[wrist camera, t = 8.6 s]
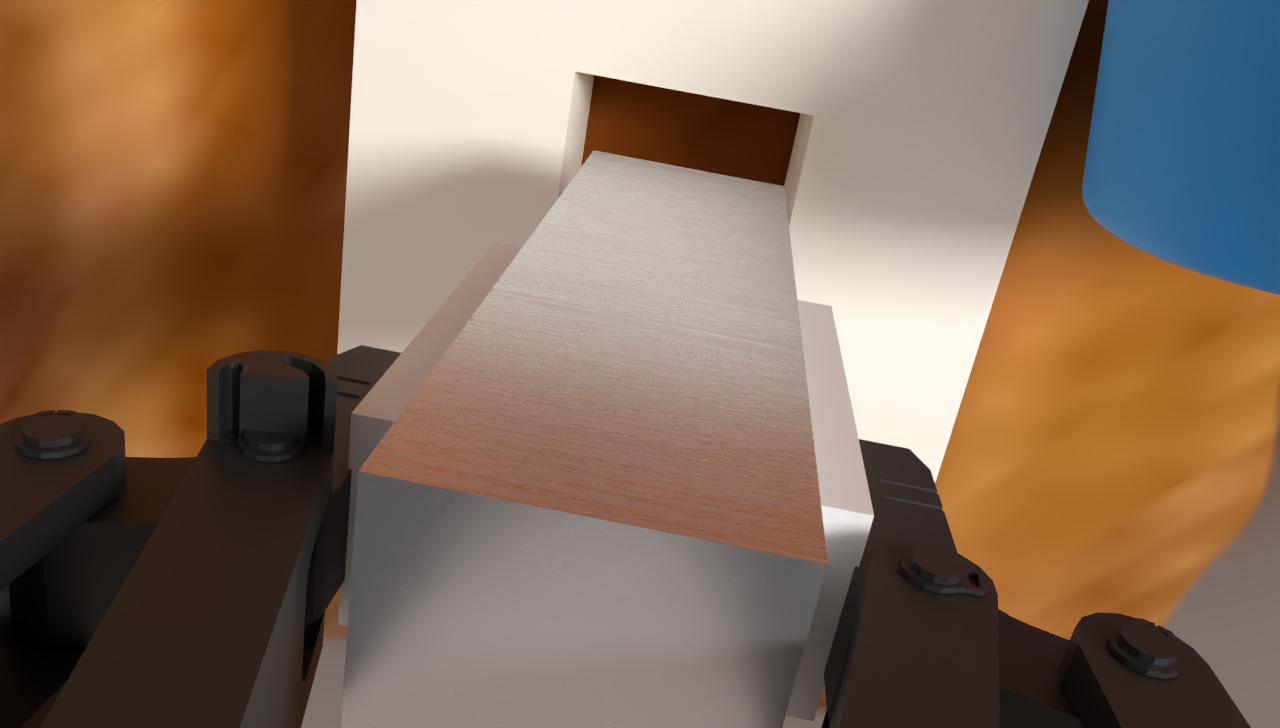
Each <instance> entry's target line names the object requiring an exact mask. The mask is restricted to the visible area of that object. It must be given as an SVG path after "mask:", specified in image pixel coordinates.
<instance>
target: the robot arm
mask: <svg viewBox="0 0 1280 728" xmlns="http://www.w3.org/2000/svg"><path fill="white" fill-rule="evenodd" d="M521 249H522V247H519V246H514V245H508V244H503V243H498V242H494V243H493V244H492V246H491V247H490V248H489V249H488V250H487V252H486V253H485V254H484V255H483V256H482V258H481V259H480V260H479V261H478V262H477V264H476V265H475V266H474V267H473V268H472V269H471V271H470V272H469V273H468V274H467V275H466V277H465V278H464V279H463V280H462V281H461V283H460V284H459V285H458V286H457V287H456V289H455V290H454V291H453V292H452V293H451V295H450V296H449V297H448V298H447V299H446V301H445V302H444V303H443V304H442V305H441V307H440V308H439V309H438V310H437V311H436V313H435V314H434V315H433V316H432V317H431V319H430V320H429V321H428V322H427V323H426V324H425V326H424V327H423V328H422V329H421V330H420V332H419V333H418V334H417V335H416V336H415V338H414V339H413V340H412V341H411V342H410V344H409V345H408V346H407V347H406V348H405V350H404V351H403V352H402V353H400V352H394V351H389V350H384V349H379V348H374V347H369V346H364V345H360V346H358V347H355V348H353V349H350V350H347V351H345V352H342V353H340V354H337V355H335V356H333V357H332V358H331V359H330V360H329V361H328V362H327V363H325V362H323V361H321V360H318V359H316V358H313V357H311V356H308V355H303V354H298V353H293V352H288V351H263V350H261V351H253V352H245V353H238V354H235V355H232V356H229V357H226V358H223V359H220V360H218V361H217V362H216V363H214V364H213V365H212V366H211V367H209V368H208V369H207V440H206V442H205V443H204V445H203V447H202V449H201V450H200V452H199V454H198V455H197V457H191V458H141V457H125V438H124V431H123V430H122V429H121V428H120V427H119V426H118V425H117V424H115V423H114V422H113V421H111V420H108V419H105V418H102V417H100V416H97V415H94V414H86V413H77V412H74V411H70V410H58V412H54V410H53V411H42V412H38V413H36V414H33V415H29V416H24V417H19V418H15V419H12V420H10V421H8V422H5V423H3V424H1V425H0V728H301V725H302V721H303V717H304V714H305V710H306V706H307V702H308V699H309V695H310V691H311V687H312V683H313V680H314V676H315V672H316V668H317V665H318V661H319V658H320V654H321V650H322V646H323V632H324V614H325V610H326V608H327V607H328V605H329V604H330V602H331V600H332V599H333V597H334V596H335V594H336V592H337V591H338V589H339V588H340V600H339V616H338V625H342V626H347V627H348V614H349V599H350V584H351V570H352V555H353V540H354V526H355V511H356V496H357V481H358V471H359V469H360V468H361V467H362V465H363V464H364V463H365V461H366V460H367V459H368V457H369V456H370V454H371V453H372V452H373V450H374V449H375V448H376V446H377V445H378V444H379V442H380V441H381V439H382V438H383V437H384V435H385V434H386V433H387V431H388V430H389V429H390V427H391V426H392V424H393V423H394V422H395V420H396V419H397V418H398V416H399V415H400V414H401V412H402V411H403V409H404V408H405V407H406V405H407V404H408V403H409V401H410V400H411V399H412V397H413V396H414V394H415V393H416V392H417V390H418V389H419V388H420V386H421V385H422V384H423V382H424V381H425V379H426V378H427V377H428V375H429V374H430V373H431V371H432V370H433V369H434V367H435V366H436V364H437V363H438V362H439V360H440V359H441V358H442V356H443V355H444V354H445V352H446V351H447V349H448V348H449V347H450V345H451V344H452V343H453V341H454V340H455V339H456V337H457V336H458V334H459V333H460V332H461V330H462V329H463V328H464V326H465V325H466V324H467V322H468V321H469V319H470V318H471V317H472V315H473V314H474V313H475V311H476V310H477V309H478V307H479V306H480V304H481V303H482V302H483V300H484V299H485V298H486V296H487V295H488V294H489V292H490V291H491V289H492V288H493V287H494V285H495V284H496V283H497V281H498V280H499V279H500V277H501V276H502V275H503V273H504V272H505V270H506V269H507V268H508V266H509V265H510V264H511V262H512V261H513V260H514V258H515V257H516V255H517V254H518V253H519V251H520V250H521ZM798 309H799V318H800V326H801V335H802V344H803V352H804V361H805V370H806V378H807V387H808V396H809V405H810V413H811V422H812V431H813V439H814V448H815V457H816V465H817V474H818V483H819V491H820V500H821V509H822V517H823V526H824V535H825V543H826V552H827V561H828V566H827V569H826V573H825V576H824V580H823V584H822V587H821V591H820V594H819V598H818V601H817V605H816V608H815V612H814V616H813V619H812V623H811V626H810V630H809V633H808V637H807V640H806V644H805V648H804V651H803V655H802V658H801V662H800V665H799V669H798V672H797V676H796V679H795V683H794V687H793V690H792V694H791V697H790V701H789V704H788V708H787V711H786V716H791V717H796V718H802V719H806V720H811V721H813V720H814V718H815V714H816V711H817V708H818V704H819V701H820V697H821V694H822V691H823V687H824V684H825V693H826V704H827V711H826V714H825V717H824V721H823V724H822V727H821V728H1251V727H1250V726H1249V724H1248V723H1247V721H1246V720H1245V718H1244V717H1243V715H1242V714H1241V712H1240V711H1239V709H1238V708H1237V707H1236V705H1235V703H1234V702H1233V700H1232V699H1231V697H1230V696H1229V695H1228V693H1227V691H1226V690H1225V688H1224V687H1223V685H1222V684H1221V682H1220V681H1219V679H1218V678H1217V676H1216V675H1215V674H1214V672H1213V671H1212V669H1211V668H1210V666H1209V665H1208V664H1207V663H1206V662H1205V661H1204V660H1203V659H1202V657H1201V656H1200V655H1199V654H1198V653H1197V652H1196V651H1195V650H1194V649H1193V648H1192V647H1190V646H1189V645H1187V644H1186V643H1185V642H1183V641H1182V640H1180V639H1179V638H1178V637H1176V636H1175V635H1174V634H1173V633H1172V632H1170V631H1169V630H1167V629H1165V628H1163V627H1161V626H1159V625H1158V627H1157V626H1155V623H1152V622H1149V621H1147V620H1144V619H1141V618H1133V617H1130V616H1126V615H1122V614H1114V613H1095V614H1091V615H1088V616H1085V617H1082V618H1081V620H1080V621H1079V623H1078V624H1077V626H1076V627H1075V629H1074V632H1073V634H1072V637H1071V639H1070V640H1067V639H1064V638H1062V637H1059V636H1057V635H1054V634H1051V633H1049V632H1046V631H1044V630H1041V629H1039V628H1036V627H1033V626H1031V625H1028V624H1026V623H1024V622H1022V621H1020V620H1017V619H1015V618H1013V617H1011V616H1009V615H1007V614H1006V613H1004V612H1003V611H1001V610H999V609H998V595H997V592H996V589H995V586H994V583H993V581H992V580H991V579H990V578H989V577H988V575H987V574H986V573H985V572H984V571H983V570H982V569H981V568H980V567H979V566H977V565H976V564H974V563H973V562H971V561H970V560H968V559H966V558H965V557H963V556H962V555H960V554H958V553H957V550H956V547H955V544H954V541H953V538H952V535H951V532H950V529H949V526H948V522H947V519H946V516H945V513H944V511H942V504H941V501H940V498H939V495H938V494H936V493H937V489H936V486H935V483H934V479H933V476H932V473H931V470H930V469H929V468H928V467H927V466H926V465H925V464H924V463H923V462H922V461H921V460H920V459H919V458H918V457H917V456H916V455H915V454H914V453H913V452H912V451H911V450H910V449H908V448H903V447H898V446H892V445H887V444H882V443H877V442H872V441H867V440H862V439H858V434H857V429H856V424H855V419H854V414H853V409H852V404H851V399H850V395H849V390H848V385H847V380H846V375H845V370H844V365H843V360H842V355H841V350H840V345H839V341H838V336H837V331H836V326H835V321H834V316H833V311H832V306H828V305H823V304H818V303H812V302H807V301H802V300H798Z"/></svg>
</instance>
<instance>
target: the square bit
mask: <svg viewBox="0 0 1280 728" xmlns="http://www.w3.org/2000/svg"><path fill="white" fill-rule="evenodd" d="M827 566H828V561H827V552H826V543H825V535H824V526H823V517H822V509H821V500H820V491H819V483H818V474H817V465H816V457H815V448H814V439H813V431H812V422H811V413H810V405H809V396H808V387H807V378H806V370H805V361H804V352H803V344H802V335H801V326H800V318H799V309H798V300H797V292H796V283H795V274H794V266H793V257H792V248H791V240H790V231H789V222H788V214H787V205H786V196H785V188H784V186H780V185H775V184H770V183H764V182H759V181H754V180H748V179H743V178H738V177H732V176H727V175H722V174H716V173H711V172H706V171H701V170H695V169H690V168H685V167H679V166H674V165H669V164H663V163H658V162H653V161H647V160H642V159H637V158H631V157H626V156H621V155H615V154H610V153H605V152H599V151H594V150H593V152H592V153H591V155H590V156H589V157H588V159H587V160H586V161H585V163H584V164H583V165H582V167H581V168H580V170H579V171H578V172H577V174H576V175H575V176H574V178H573V179H572V180H571V182H570V183H569V185H568V186H567V187H566V189H565V190H564V191H563V193H562V194H561V195H560V197H559V198H558V200H557V201H556V202H555V204H554V205H553V206H552V208H551V209H550V210H549V212H548V213H547V215H546V216H545V217H544V219H543V220H542V221H541V223H540V224H539V225H538V227H537V228H536V230H535V231H534V232H533V234H532V235H531V236H530V238H529V239H528V240H527V242H526V243H525V245H524V246H523V247H522V249H521V250H520V251H519V253H518V254H517V255H516V257H515V258H514V260H513V261H512V262H511V264H510V265H509V266H508V268H507V269H506V270H505V272H504V273H503V275H502V276H501V277H500V279H499V280H498V281H497V283H496V284H495V285H494V287H493V288H492V289H491V291H490V292H489V294H488V295H487V296H486V298H485V299H484V300H483V302H482V303H481V304H480V306H479V307H478V309H477V310H476V311H475V313H474V314H473V315H472V317H471V318H470V319H469V321H468V322H467V324H466V325H465V326H464V328H463V329H462V330H461V332H460V333H459V334H458V336H457V337H456V339H455V340H454V341H453V343H452V344H451V345H450V347H449V348H448V349H447V351H446V352H445V354H444V355H443V356H442V358H441V359H440V360H439V362H438V363H437V364H436V366H435V367H434V369H433V370H432V371H431V373H430V374H429V375H428V377H427V378H426V379H425V381H424V382H423V384H422V385H421V386H420V388H419V389H418V390H417V392H416V393H415V394H414V396H413V397H412V399H411V400H410V401H409V403H408V404H407V405H406V407H405V408H404V409H403V411H402V412H401V414H400V415H399V416H398V418H397V419H396V420H395V422H394V423H393V424H392V426H391V427H390V429H389V430H388V431H387V433H386V434H385V435H384V437H383V438H382V439H381V441H380V442H379V444H378V445H377V446H376V448H375V449H374V450H373V452H372V453H371V454H370V456H369V457H368V459H367V460H366V461H365V463H364V464H363V465H362V467H361V468H360V469H359V471H358V481H357V496H356V511H355V526H354V540H353V555H352V570H351V584H350V599H349V614H348V629H347V643H346V659H345V673H344V688H343V702H342V717H341V728H782V726H783V722H784V719H785V715H786V711H787V708H788V704H789V701H790V697H791V694H792V690H793V687H794V683H795V679H796V676H797V672H798V669H799V665H800V662H801V658H802V655H803V651H804V648H805V644H806V640H807V637H808V633H809V630H810V626H811V623H812V619H813V616H814V612H815V608H816V605H817V601H818V598H819V594H820V591H821V587H822V584H823V580H824V576H825V573H826V569H827Z"/></svg>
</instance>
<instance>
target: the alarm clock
mask: <svg viewBox="0 0 1280 728" xmlns="http://www.w3.org/2000/svg"><path fill="white" fill-rule="evenodd" d="M1082 196H1083V202H1084V204H1085V206H1086V208H1087V209H1088V211H1089V213H1090V215H1091V216H1092V218H1093V219H1094V220H1095V221H1096V222H1097V223H1098V224H1099V225H1101V226H1102V227H1103V228H1105V229H1106V230H1108V231H1109V232H1110V233H1112V234H1113V235H1115V236H1116V237H1118V238H1119V239H1121V240H1123V241H1124V242H1126V243H1128V244H1130V245H1131V246H1133V247H1136V248H1138V249H1140V250H1142V251H1144V252H1146V253H1148V254H1150V255H1153V256H1155V257H1158V258H1160V259H1163V260H1165V261H1168V262H1170V263H1173V264H1176V265H1178V266H1181V267H1184V268H1187V269H1190V270H1193V271H1196V272H1199V273H1202V274H1205V275H1208V276H1212V277H1215V278H1218V279H1222V280H1225V281H1228V282H1232V283H1236V284H1239V285H1243V286H1247V287H1251V288H1254V289H1258V290H1262V291H1266V292H1270V293H1274V294H1279V295H1280V0H1109V1H1108V8H1107V15H1106V22H1105V29H1104V36H1103V43H1102V50H1101V57H1100V64H1099V71H1098V78H1097V85H1096V92H1095V99H1094V106H1093V113H1092V120H1091V127H1090V134H1089V141H1088V148H1087V155H1086V162H1085V169H1084V176H1083V183H1082Z"/></svg>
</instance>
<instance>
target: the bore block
mask: <svg viewBox="0 0 1280 728" xmlns="http://www.w3.org/2000/svg"><path fill="white" fill-rule="evenodd" d="M1088 2H1089V0H357V2H356V20H355V39H354V57H353V75H352V93H351V112H350V130H349V148H348V166H347V185H346V203H345V221H344V239H343V258H342V276H341V294H340V312H339V331H338V349H337V354H340V353H342V352H345V351H347V350H350V349H353V348H355V347H358V346H360V345H364V346H369V347H374V348H379V349H384V350H389V351H394V352H400V353H402V352H403V351H404V350H405V348H406V347H407V346H408V345H409V344H410V342H411V341H412V340H413V339H414V338H415V336H416V335H417V334H418V333H419V332H420V330H421V329H422V328H423V327H424V326H425V324H426V323H427V322H428V321H429V320H430V319H431V317H432V316H433V315H434V314H435V313H436V311H437V310H438V309H439V308H440V307H441V305H442V304H443V303H444V302H445V301H446V299H447V298H448V297H449V296H450V295H451V293H452V292H453V291H454V290H455V289H456V287H457V286H458V285H459V284H460V283H461V281H462V280H463V279H464V278H465V277H466V275H467V274H468V273H469V272H470V271H471V269H472V268H473V267H474V266H475V265H476V264H477V262H478V261H479V260H480V259H481V258H482V256H483V255H484V254H485V253H486V252H487V250H488V249H489V248H490V247H491V246H492V244H493V243H494V242H498V243H503V244H508V245H514V246H519V247H523V246H524V245H525V243H526V242H527V240H528V239H529V238H530V236H531V235H532V234H533V232H534V231H535V230H536V228H537V227H538V225H539V224H540V223H541V221H542V220H543V219H544V217H545V216H546V215H547V213H548V212H549V210H550V209H551V208H552V206H553V205H554V204H555V202H556V201H557V200H558V198H559V197H560V195H561V194H562V193H563V191H564V190H565V189H566V187H567V186H568V185H569V183H570V182H571V180H572V179H573V178H574V176H575V175H576V174H577V172H578V171H579V170H580V168H581V165H582V158H583V151H584V144H585V137H586V130H587V123H588V116H589V109H590V102H591V96H592V89H593V82H594V75H597V76H602V77H608V78H613V79H619V80H624V81H629V82H635V83H640V84H646V85H651V86H657V87H662V88H667V89H673V90H678V91H684V92H689V93H694V94H700V95H705V96H711V97H716V98H722V99H727V100H732V101H738V102H743V103H749V104H754V105H760V106H765V107H770V108H776V109H781V110H787V111H792V112H797V113H800V118H799V122H798V127H797V131H796V136H795V140H794V145H793V149H792V153H791V158H790V162H789V167H788V171H787V176H786V180H785V185H784V188H785V196H786V205H787V214H788V222H789V231H790V240H791V248H792V257H793V266H794V274H795V283H796V292H797V300H802V301H807V302H812V303H818V304H823V305H828V306H832V311H833V316H834V321H835V326H836V331H837V336H838V341H839V345H840V350H841V355H842V360H843V365H844V370H845V375H846V380H847V385H848V390H849V395H850V399H851V404H852V409H853V414H854V419H855V424H856V429H857V434H858V439H862V440H867V441H872V442H877V443H882V444H887V445H892V446H898V447H903V448H908V449H910V450H911V451H912V452H913V453H914V454H915V455H916V456H917V457H918V458H919V459H920V460H921V461H922V462H923V463H924V464H925V465H926V466H927V467H928V468H929V469H930V470H931V473H932V476H933V479H934V483H935V482H936V479H937V475H938V472H939V469H940V466H941V463H942V460H943V457H944V454H945V450H946V447H947V444H948V441H949V438H950V435H951V432H952V428H953V425H954V422H955V419H956V416H957V413H958V410H959V407H960V403H961V400H962V397H963V394H964V391H965V388H966V385H967V381H968V378H969V375H970V372H971V369H972V366H973V363H974V360H975V356H976V353H977V350H978V347H979V344H980V341H981V338H982V334H983V331H984V328H985V325H986V322H987V319H988V316H989V312H990V309H991V306H992V303H993V300H994V297H995V294H996V291H997V287H998V284H999V281H1000V278H1001V275H1002V272H1003V269H1004V265H1005V262H1006V259H1007V256H1008V253H1009V250H1010V247H1011V244H1012V240H1013V237H1014V234H1015V231H1016V228H1017V225H1018V222H1019V218H1020V215H1021V212H1022V209H1023V206H1024V203H1025V200H1026V196H1027V193H1028V190H1029V187H1030V184H1031V181H1032V178H1033V175H1034V171H1035V168H1036V165H1037V162H1038V159H1039V156H1040V153H1041V149H1042V146H1043V143H1044V140H1045V137H1046V134H1047V131H1048V128H1049V124H1050V121H1051V118H1052V115H1053V112H1054V109H1055V106H1056V102H1057V99H1058V96H1059V93H1060V90H1061V87H1062V84H1063V80H1064V77H1065V74H1066V71H1067V68H1068V65H1069V62H1070V59H1071V55H1072V52H1073V49H1074V46H1075V43H1076V40H1077V37H1078V33H1079V30H1080V27H1081V24H1082V21H1083V18H1084V15H1085V12H1086V8H1087V5H1088Z"/></svg>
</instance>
